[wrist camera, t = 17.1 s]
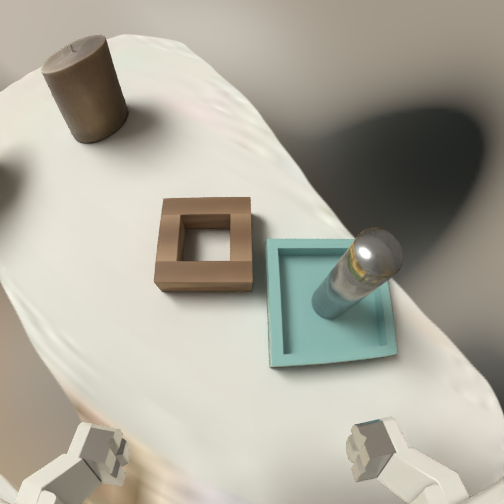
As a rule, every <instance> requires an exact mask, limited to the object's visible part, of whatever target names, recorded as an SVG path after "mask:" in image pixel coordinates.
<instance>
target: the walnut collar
mask: <svg viewBox="0 0 504 504" xmlns="http://www.w3.org/2000/svg"><path fill="white" fill-rule="evenodd" d="M226 228H230V261H183V247H184V235H185V229H226ZM154 282H155V284H156V285H157V286H158V288H159V289H160V290H161V291H184V292H249V291H251V290H252V283H253V275H252V237H251V199H250V197H206V198H167V199H163V206H162V213H161V221H160V228H159V237H158V245H157V254H156V264H155V274H154Z"/></svg>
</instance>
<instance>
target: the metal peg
mask: <svg viewBox="0 0 504 504" xmlns="http://www.w3.org/2000/svg"><path fill="white" fill-rule="evenodd" d="M402 262H403V254H402V250H401V247H400V245H399V243H398V241H397V240H396V239H395V237H394V236H393V235H392V234H390V233H389V232H387V231H385V230H383V229H381V228H367V229H365V230H363V231H362V232H360V233H359V235H358V236H357V237H356V238H355V240H354V241H353V243H352V244H351V245H350V247H349V248H348V249H347V251H346V252H345V253H344V255H343V256H342V257H341V258H340V260H339V261H338V262H337V264H336V265H335V266H334V268H333V269H332V270H331V271H330V273H329V274H328V275H327V277H326V278H325V279H324V280H323V282H322V283H321V284H320V285H319V287H318V288H317V289H316V290H315V292H314V293H313V296H312V307H313V309H314V311H315V312H316V314H317V315H319V316H320V317H322V318H324V319H335V318H337V317H339V316H340V315H342V314H343V313H344V312H346V311H347V310H349V309H350V308H351V307H353V306H354V305H356V304H357V303H358V302H360V301H361V300H362V299H364V298H365V297H366V296H368V295H369V294H371V293H372V292H373V291H375V290H376V289H377V288H378V287H380V286H381V285H382V284H384V283H385V282H386V281H388V280H389V279H390V278H391V277H393V276H394V275H395V274H396V273H397V272H398V271H399V270H400V268H401V266H402Z"/></svg>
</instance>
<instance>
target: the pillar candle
mask: <svg viewBox="0 0 504 504" xmlns="http://www.w3.org/2000/svg"><path fill="white" fill-rule="evenodd" d="M41 73H42V74H43V76H44V78H45V80H46V82H47V84H48V87H49V88H50V90H51V93H52V96H53V97H54V99H55V101H56V103H57V105H58V108H59V109H60V112H61V114H62V116H63V118H64V119H65V121H66V123H67V125H68V127H69V129H70V131H71V133H72V135H73V136H74V138H75V139H76V140H77V141H79V142H81V143H91V142H95V141H98V140H101V139H103V138H105V137H107V136H109V135H111V134H113V133H114V132H115V131H117V130H118V129H119V128H120V127H121V126H122V125H123V124H124V122H125V121H126V119H127V117H128V113H129V111H128V110H127V107H126V103H125V99H124V97H123V94H122V91H121V87H120V85H119V81H118V78H117V74H116V71H115V69H114V65H113V62H112V58H111V55H110V51H109V48H108V44H107V40H106V38H105V37H104V36H102V35H94V36H88V37H85V38H82V39H79V40H77V41H74V42H72V43H70V44H68V45H66V46H64V47H63V48H61V49H60V50H58V51H57V52H56V53H54V54H53V55H52V56H51V57H50V58H48V60H47V61H46V62H45V63H44V65H43V66H42V69H41Z"/></svg>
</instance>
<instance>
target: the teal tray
mask: <svg viewBox="0 0 504 504" xmlns="http://www.w3.org/2000/svg"><path fill="white" fill-rule="evenodd" d="M354 240H355V239H267V241H266V246H265V265H266V289H267V314H268V341H269V367H289V366H305V365H318V364H330V363H340V362H349V361H358V360H366V359H374V358H381V357H387V356H391V355H395V354H397V347H396V337H395V328H394V320H393V313H392V305H391V299H390V292H389V286H388V281H386V282H385V283H384V284H382V285H381V286H380V287H378V288H377V289H376V290H375V291H373V292H372V293H371V294H369V295H368V296H366V297H365V298H364V299H362V300H361V301H360V302H358V303H357V304H356V305H354V306H353V307H351V308H350V309H349V310H347V311H346V312H344V313H343V314H342V315H340V316H339V317H337V318H335V319H324V318H322V317H320V316H319V315H317V314H316V312H315V311H314V309H313V307H312V296H313V293H314V292H315V290H316V289H317V288H318V287H319V285H320V284H321V283H322V282H323V280H324V279H325V278H326V277H327V275H328V274H329V273H330V271H331V270H332V269H333V268H334V266H335V265H336V264H337V262H338V261H339V260H340V258H341V257H342V256H343V255H344V253H345V252H346V251H347V249H348V248H349V247H350V245H351V244H352V243H353V241H354Z"/></svg>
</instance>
